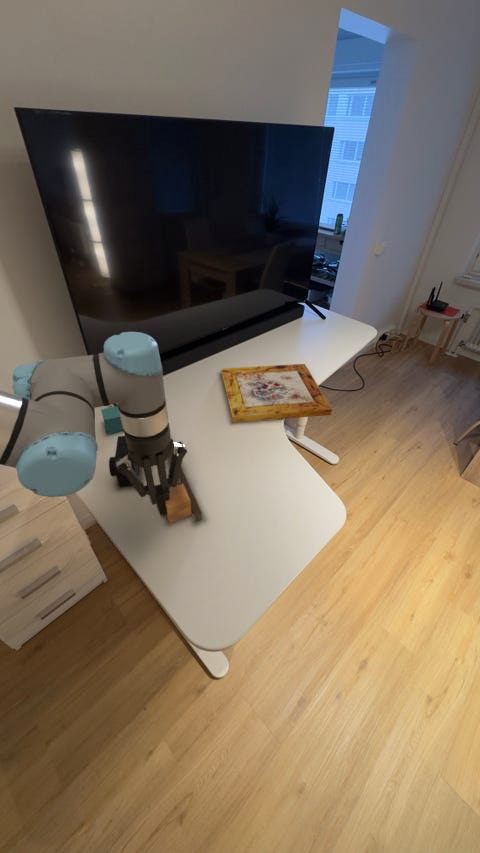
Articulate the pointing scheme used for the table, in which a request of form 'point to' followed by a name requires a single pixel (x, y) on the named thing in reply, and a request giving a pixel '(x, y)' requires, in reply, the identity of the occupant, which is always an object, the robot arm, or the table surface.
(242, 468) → the table surface
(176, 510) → the oak block
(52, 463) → the robot arm
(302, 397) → the picture frame
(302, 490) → the table surface
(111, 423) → the teal block
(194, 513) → the rail
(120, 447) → the digital camera
